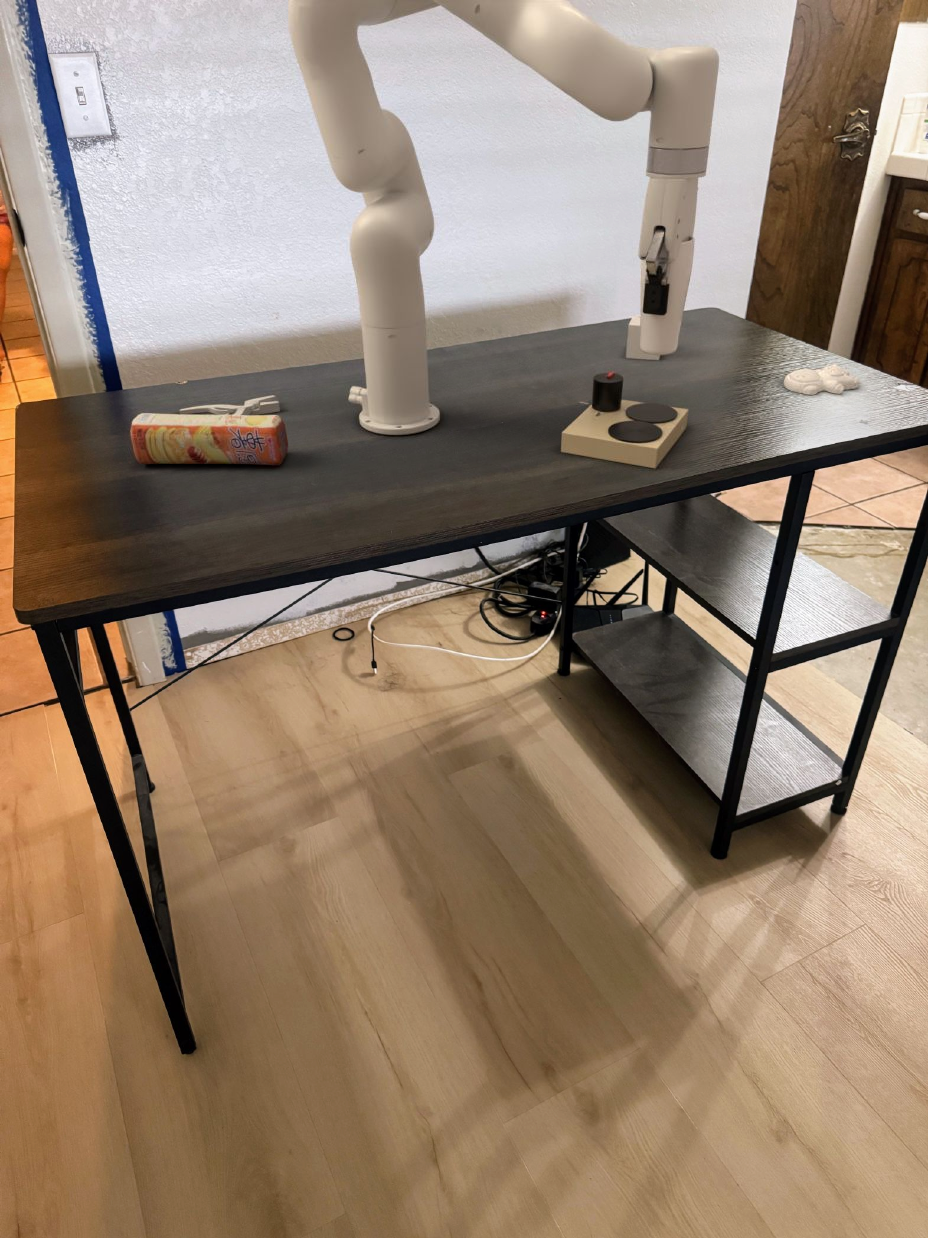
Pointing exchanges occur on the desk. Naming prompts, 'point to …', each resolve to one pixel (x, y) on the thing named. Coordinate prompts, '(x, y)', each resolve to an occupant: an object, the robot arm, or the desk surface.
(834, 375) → the astronaut figurine
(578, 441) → the hot plate
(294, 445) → the desk surface
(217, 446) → the snack package
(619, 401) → the hob knob
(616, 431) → the burner
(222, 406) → the pliers
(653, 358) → the white cube
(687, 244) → the drinking glass
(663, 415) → the burner
